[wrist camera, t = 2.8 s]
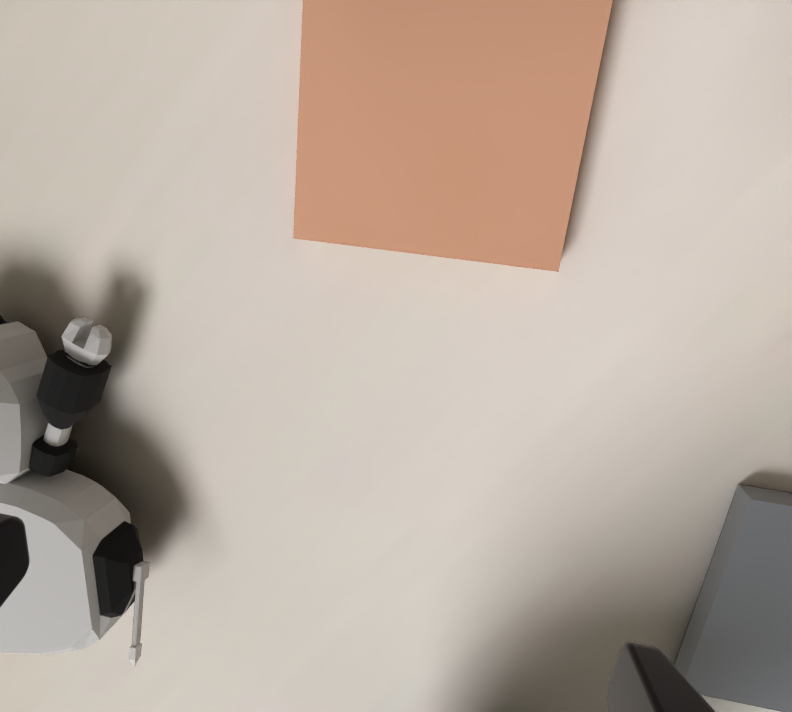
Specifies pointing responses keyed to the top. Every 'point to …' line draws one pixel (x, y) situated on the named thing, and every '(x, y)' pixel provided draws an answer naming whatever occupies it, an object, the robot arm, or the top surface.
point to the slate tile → (746, 607)
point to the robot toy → (61, 499)
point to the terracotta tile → (445, 124)
